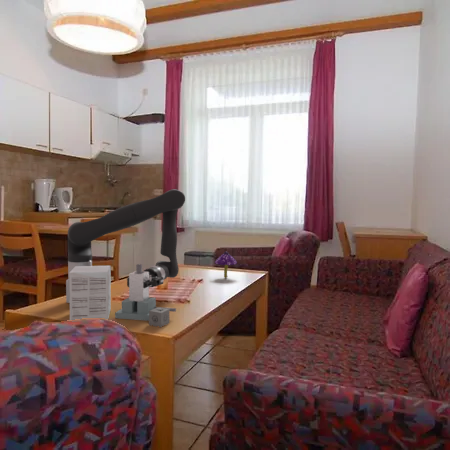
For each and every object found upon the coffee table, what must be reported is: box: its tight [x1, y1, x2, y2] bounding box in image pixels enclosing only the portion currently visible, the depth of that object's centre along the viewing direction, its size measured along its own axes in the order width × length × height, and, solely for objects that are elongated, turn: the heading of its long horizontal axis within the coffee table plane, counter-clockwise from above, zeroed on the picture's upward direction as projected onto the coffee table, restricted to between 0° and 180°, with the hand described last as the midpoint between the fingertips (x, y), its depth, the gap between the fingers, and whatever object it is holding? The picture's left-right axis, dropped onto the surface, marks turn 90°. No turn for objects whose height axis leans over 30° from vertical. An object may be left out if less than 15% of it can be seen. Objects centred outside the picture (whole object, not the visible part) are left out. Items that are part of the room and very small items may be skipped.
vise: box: [114, 263, 177, 322], centre depth 138 cm, size 21×10×19 cm, turn 80°
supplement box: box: [69, 265, 112, 321], centre depth 137 cm, size 13×13×18 cm
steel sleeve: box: [128, 270, 150, 302], centre depth 138 cm, size 5×5×10 cm
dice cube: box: [148, 306, 170, 328], centre depth 130 cm, size 5×5×5 cm
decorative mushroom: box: [214, 251, 238, 279], centre depth 211 cm, size 12×12×15 cm
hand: (136, 284), depth 136 cm, fingers closed on steel sleeve, 5 cm apart
